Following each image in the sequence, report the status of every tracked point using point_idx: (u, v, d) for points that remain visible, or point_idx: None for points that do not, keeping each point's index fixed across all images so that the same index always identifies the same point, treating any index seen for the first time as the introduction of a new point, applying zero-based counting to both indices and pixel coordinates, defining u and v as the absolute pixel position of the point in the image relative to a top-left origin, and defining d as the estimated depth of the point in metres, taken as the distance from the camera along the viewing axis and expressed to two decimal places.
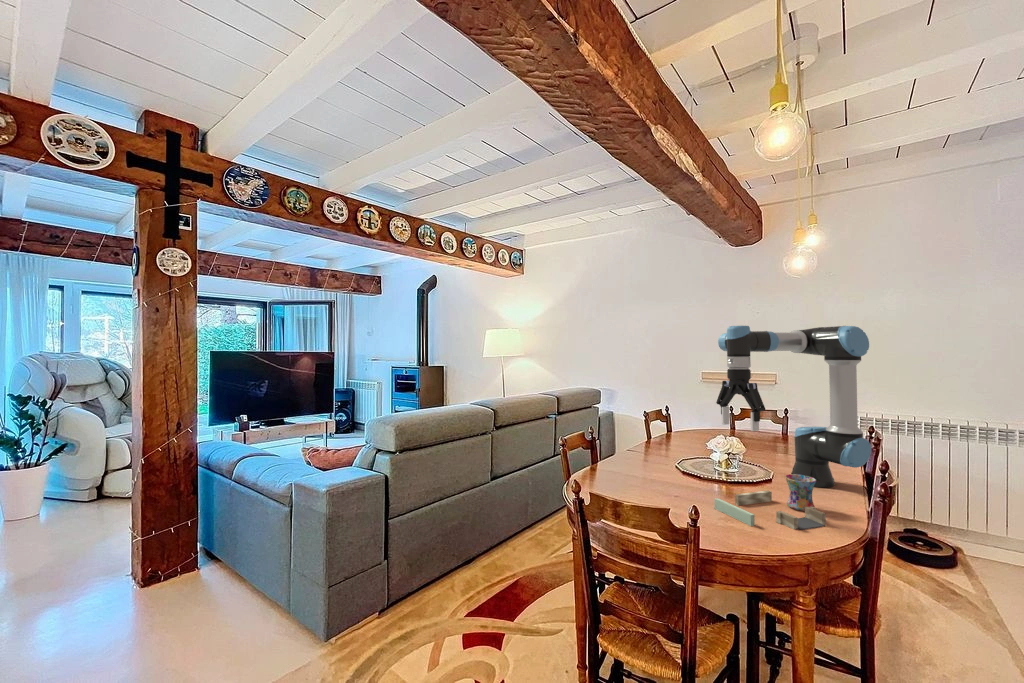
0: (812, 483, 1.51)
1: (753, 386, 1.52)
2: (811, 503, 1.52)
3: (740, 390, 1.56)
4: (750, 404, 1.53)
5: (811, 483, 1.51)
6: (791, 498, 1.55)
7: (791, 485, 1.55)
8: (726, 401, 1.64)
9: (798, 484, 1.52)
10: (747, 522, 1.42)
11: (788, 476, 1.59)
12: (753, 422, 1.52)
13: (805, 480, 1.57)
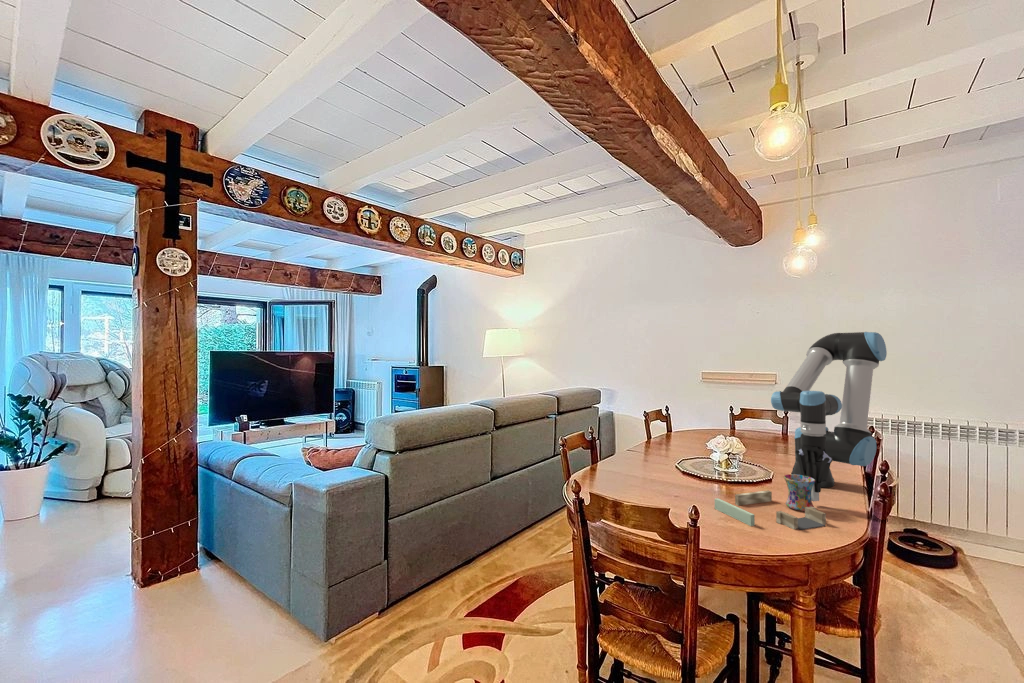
0: (811, 483, 1.51)
1: (828, 461, 1.52)
2: (810, 503, 1.52)
3: (813, 458, 1.56)
4: (814, 474, 1.56)
5: (810, 483, 1.51)
6: (790, 498, 1.55)
7: (790, 485, 1.54)
8: (810, 472, 1.59)
9: (797, 484, 1.52)
10: (747, 522, 1.42)
11: (787, 476, 1.59)
12: (814, 492, 1.57)
13: (804, 480, 1.57)
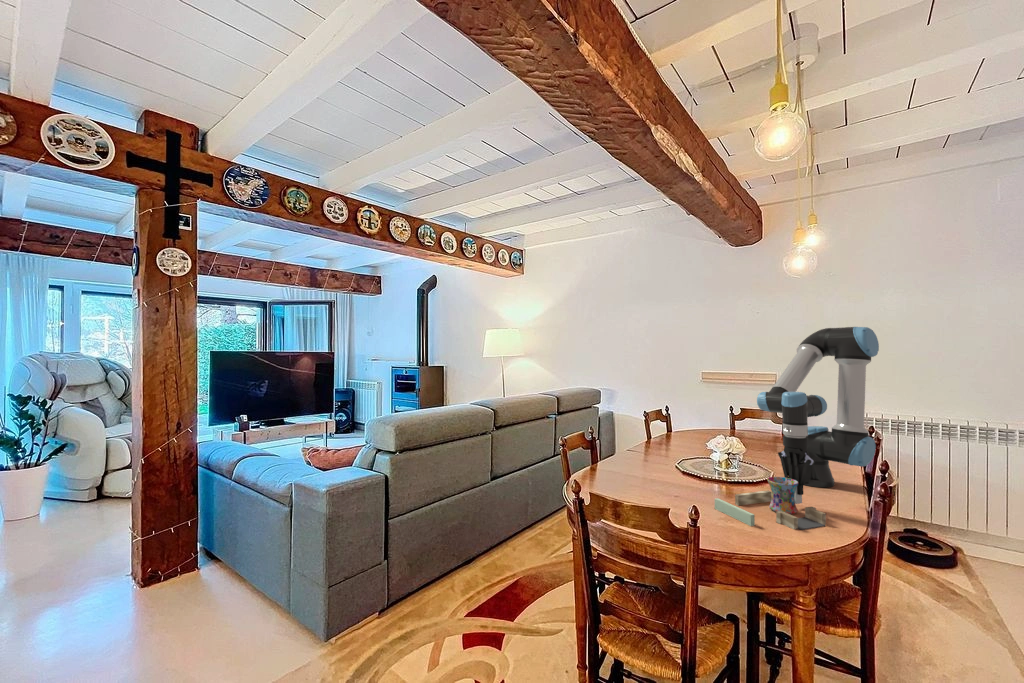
0: (795, 485, 1.49)
1: (810, 463, 1.50)
2: (794, 506, 1.50)
3: (795, 460, 1.54)
4: (797, 477, 1.54)
5: (794, 485, 1.49)
6: (774, 501, 1.52)
7: (774, 488, 1.52)
8: (793, 475, 1.56)
9: (781, 487, 1.49)
10: (747, 522, 1.42)
11: (770, 479, 1.56)
12: (796, 495, 1.55)
13: (787, 482, 1.55)
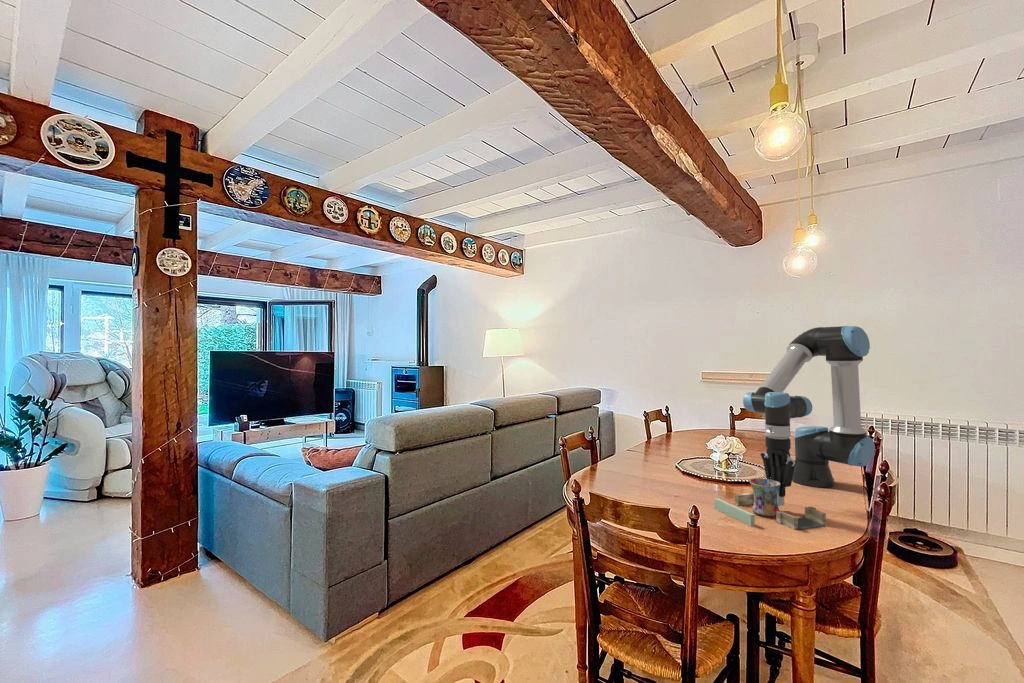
0: (777, 487, 1.47)
1: (792, 465, 1.48)
2: (776, 508, 1.48)
3: (777, 461, 1.52)
4: (779, 478, 1.52)
5: (776, 487, 1.46)
6: (756, 504, 1.50)
7: (756, 490, 1.49)
8: (775, 476, 1.54)
9: (764, 489, 1.47)
10: (747, 522, 1.42)
11: (752, 481, 1.54)
12: (778, 497, 1.52)
13: (769, 484, 1.53)
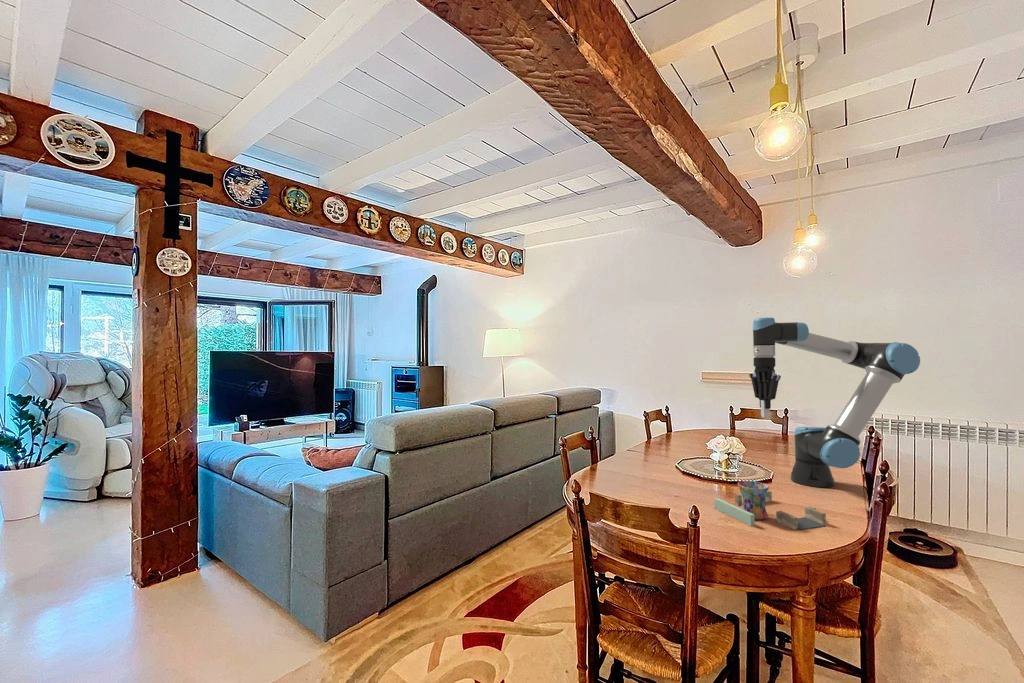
0: (766, 490, 1.45)
1: (776, 379, 1.68)
2: (764, 511, 1.46)
3: (763, 377, 1.72)
4: (765, 392, 1.72)
5: (765, 490, 1.44)
6: (745, 507, 1.47)
7: (745, 493, 1.47)
8: (762, 392, 1.74)
9: (753, 492, 1.45)
10: (747, 522, 1.42)
11: (740, 483, 1.52)
12: (764, 409, 1.73)
13: (756, 486, 1.51)
